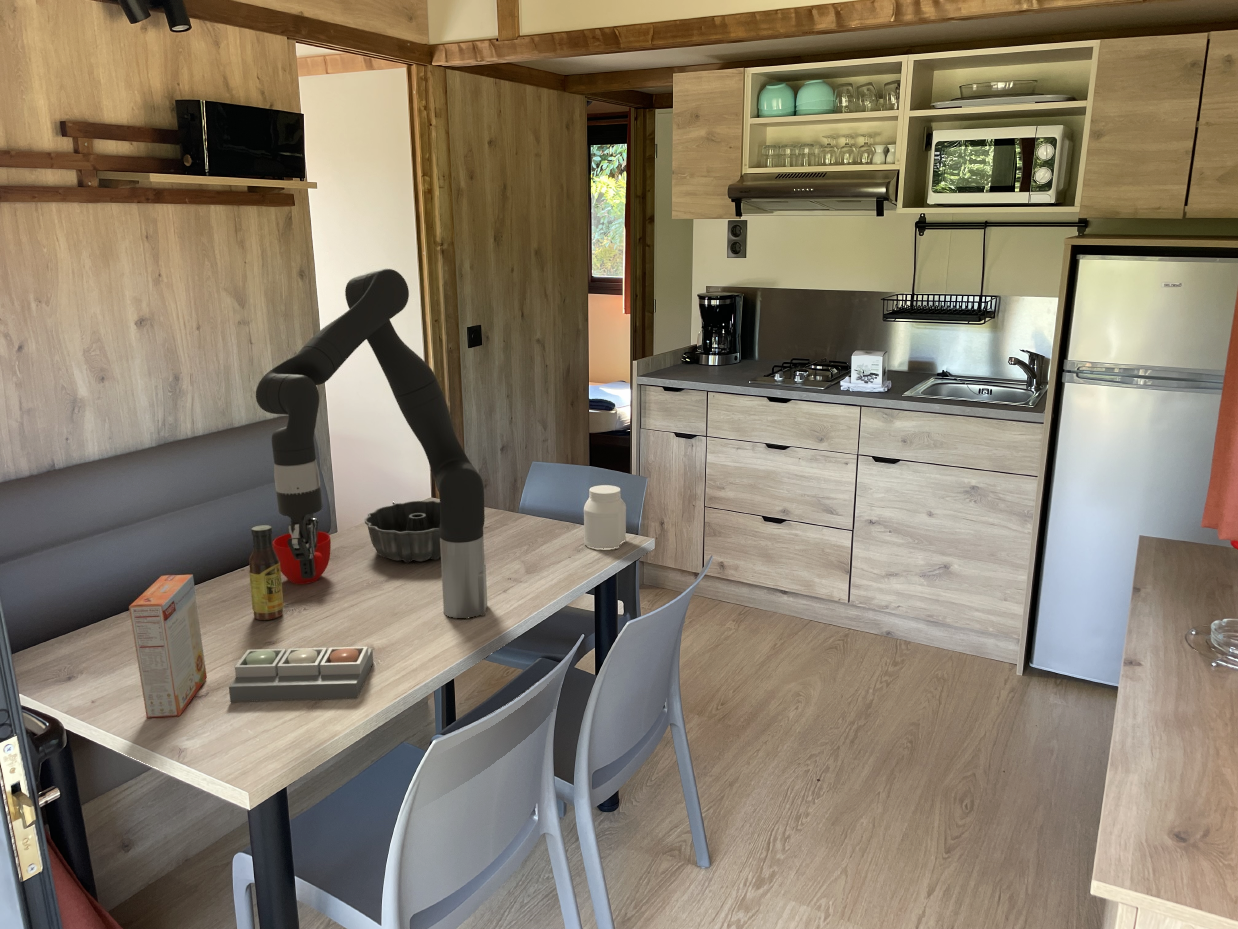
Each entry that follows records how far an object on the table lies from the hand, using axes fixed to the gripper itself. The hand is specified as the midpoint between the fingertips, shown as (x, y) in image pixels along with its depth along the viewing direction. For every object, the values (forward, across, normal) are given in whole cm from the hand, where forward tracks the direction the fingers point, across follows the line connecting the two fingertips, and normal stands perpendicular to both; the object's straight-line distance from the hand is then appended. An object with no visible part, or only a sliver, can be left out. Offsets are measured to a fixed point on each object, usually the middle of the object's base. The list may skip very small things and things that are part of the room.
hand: (308, 577), depth 167 cm
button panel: (+19, -3, +2) cm, 20 cm away
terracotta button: (+16, -3, -6) cm, 17 cm away
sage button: (+15, -3, +9) cm, 18 cm away
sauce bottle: (+19, +28, +17) cm, 38 cm away
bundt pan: (+20, +68, -10) cm, 71 cm away
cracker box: (+19, -8, +23) cm, 31 cm away
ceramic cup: (+19, +48, +13) cm, 54 cm away
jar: (+21, +69, -59) cm, 93 cm away
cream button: (+15, -3, +2) cm, 16 cm away
